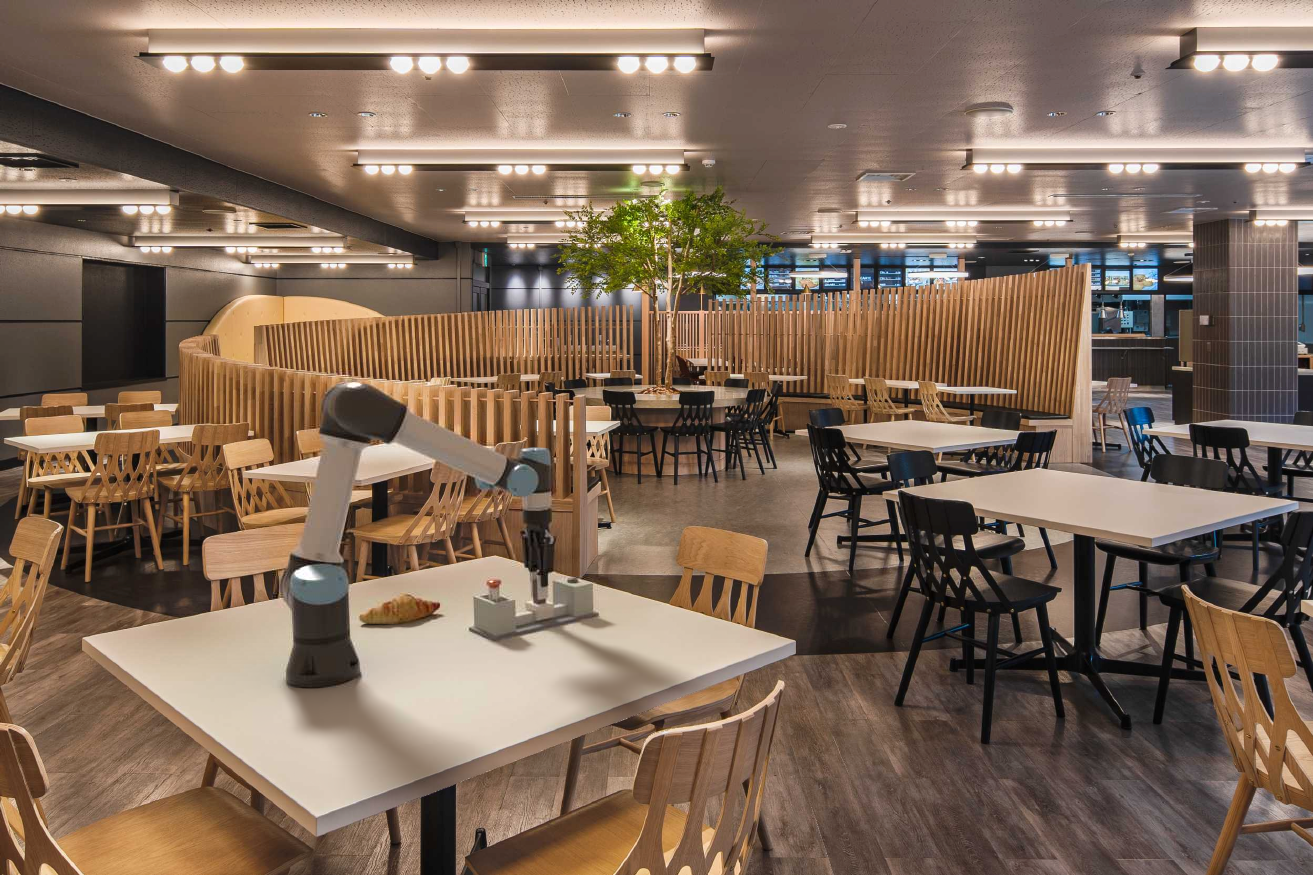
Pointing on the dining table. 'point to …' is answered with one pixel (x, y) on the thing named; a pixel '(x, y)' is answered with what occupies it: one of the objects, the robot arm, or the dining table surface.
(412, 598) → the croissant
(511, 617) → the rail fixture
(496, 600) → the ball
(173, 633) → the dining table surface
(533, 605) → the block
